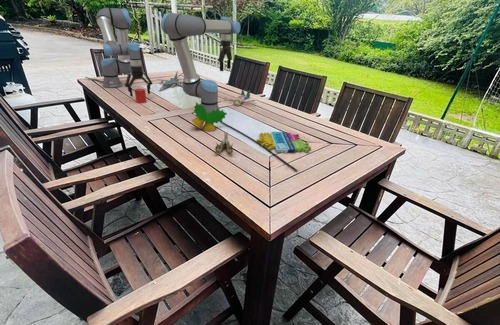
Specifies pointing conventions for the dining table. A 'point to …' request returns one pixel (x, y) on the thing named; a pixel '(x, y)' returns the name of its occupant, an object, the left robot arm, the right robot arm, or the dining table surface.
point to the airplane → (170, 82)
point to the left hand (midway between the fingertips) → (140, 95)
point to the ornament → (207, 117)
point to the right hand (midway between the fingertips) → (225, 69)
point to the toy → (241, 99)
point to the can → (140, 95)
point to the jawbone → (224, 145)
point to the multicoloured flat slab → (283, 142)
